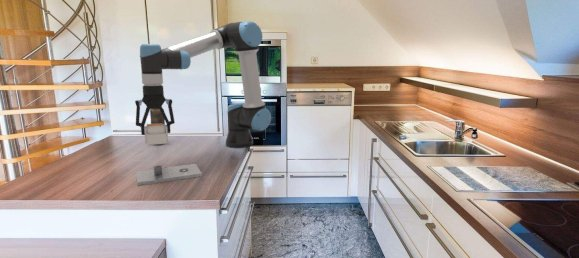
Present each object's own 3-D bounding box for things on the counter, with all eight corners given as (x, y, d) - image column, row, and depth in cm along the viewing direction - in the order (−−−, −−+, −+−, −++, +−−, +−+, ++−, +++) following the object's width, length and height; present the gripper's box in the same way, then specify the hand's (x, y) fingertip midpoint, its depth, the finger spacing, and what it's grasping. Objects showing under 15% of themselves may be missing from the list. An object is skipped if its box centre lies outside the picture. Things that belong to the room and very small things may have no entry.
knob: (165, 139, 138) (164, 122, 136) (166, 143, 131) (165, 124, 130) (147, 141, 135) (145, 122, 133) (147, 145, 128) (146, 125, 127)
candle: (161, 141, 190) (158, 107, 186) (169, 143, 186) (166, 108, 182) (149, 143, 184) (146, 108, 180) (157, 145, 180) (154, 109, 176)
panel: (195, 166, 147) (195, 157, 146) (201, 176, 134) (201, 166, 133) (136, 174, 136) (135, 164, 135) (137, 185, 124) (136, 175, 123)
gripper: (178, 83, 136) (181, 137, 140) (124, 84, 128) (129, 141, 132) (180, 85, 129) (183, 141, 134) (124, 85, 121) (129, 146, 125)
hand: (156, 141), depth 133 cm, fingers closed on knob, 7 cm apart
